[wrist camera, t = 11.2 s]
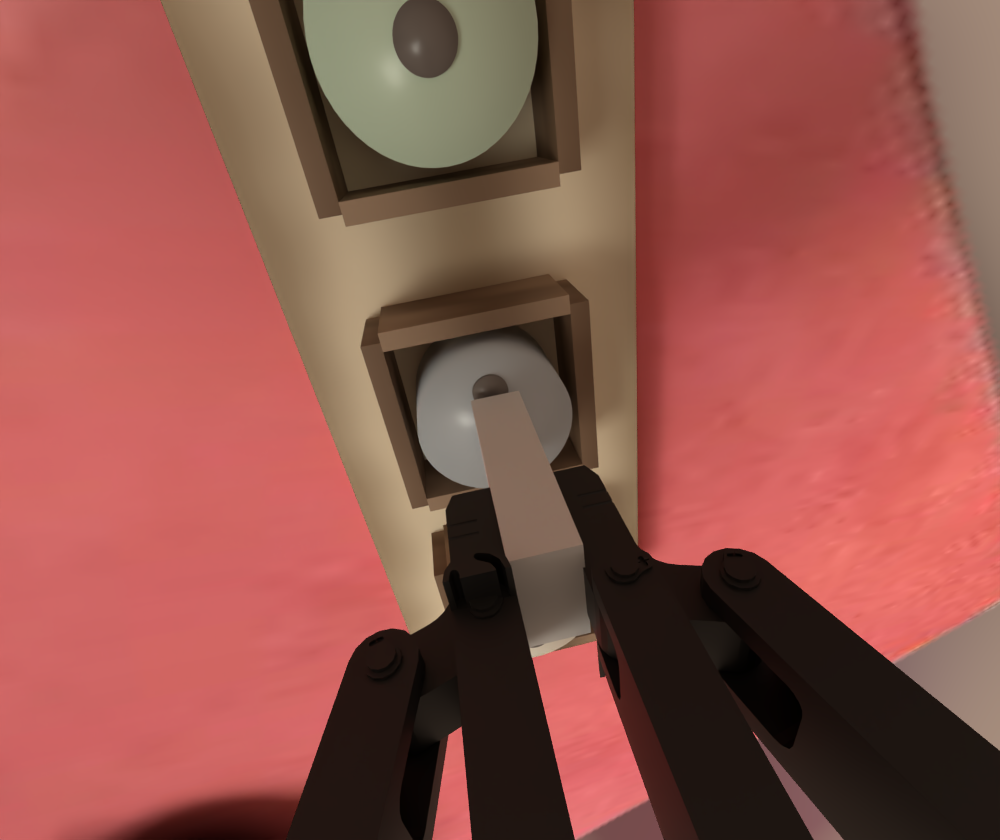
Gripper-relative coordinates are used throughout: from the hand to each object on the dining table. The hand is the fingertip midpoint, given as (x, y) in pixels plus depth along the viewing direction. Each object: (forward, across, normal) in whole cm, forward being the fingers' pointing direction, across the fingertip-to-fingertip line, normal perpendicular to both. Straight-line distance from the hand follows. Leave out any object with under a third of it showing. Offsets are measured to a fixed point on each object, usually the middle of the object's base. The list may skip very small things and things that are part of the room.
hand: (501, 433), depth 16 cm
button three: (+3, 0, 0) cm, 3 cm away
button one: (+4, 0, +10) cm, 11 cm away
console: (+7, 0, 0) cm, 7 cm away
